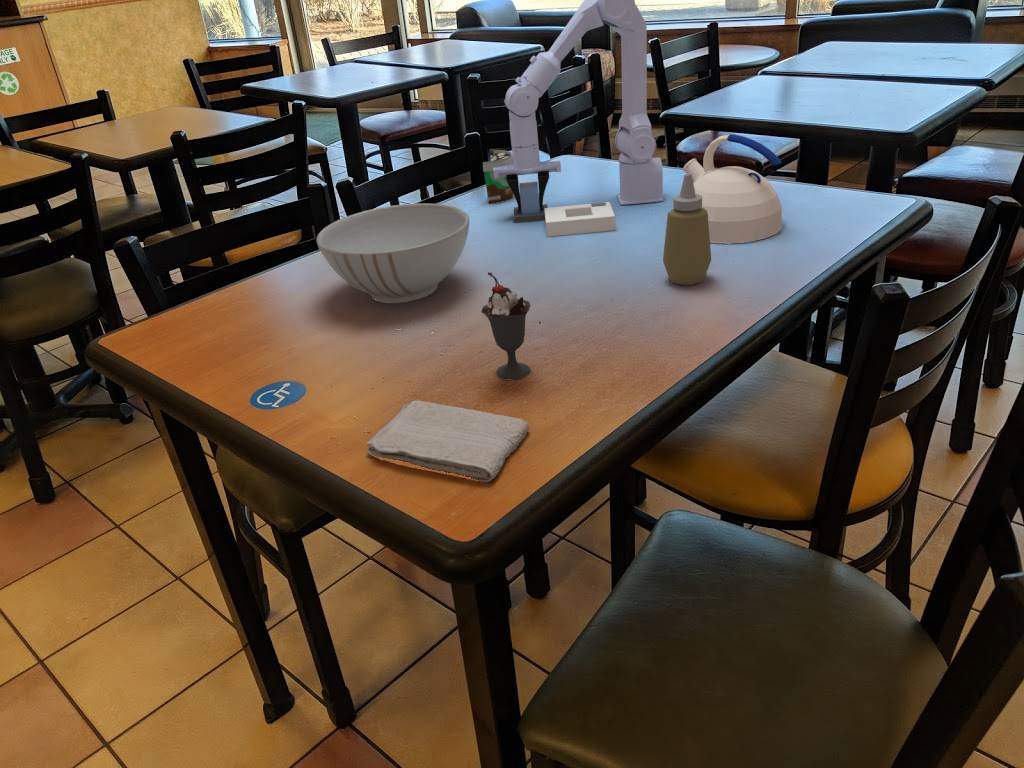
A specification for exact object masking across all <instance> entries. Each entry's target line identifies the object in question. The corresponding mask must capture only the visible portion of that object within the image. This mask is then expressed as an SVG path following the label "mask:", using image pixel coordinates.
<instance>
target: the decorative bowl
mask: <svg viewBox="0 0 1024 768" xmlns="http://www.w3.org/2000/svg"><path fill="white" fill-rule="evenodd" d="M469 228H470V217H469V214H467V212H466V211H464V210H463V209H461V208H459V207H456V206H452V205H447V204H439V203H405V204H397V205H396V204H395V205H389V206H383V207H377V208H373V209H372V208H371V209H368V210H363V211H361V212H357V213H354V214H353V213H352V214H350V215H347V216H345V217H342V218H339V219H338V220H335V221H334V222H332V223H330V224H328V225H327V226H325V227H324V228H323V229H322V230H321V231H320V232H319V233H318V234H317V236H316V244H317V247H318V249H319V250H320V252H321V254H322V256H323V258H324V259H325V260H326V263H327V264H328V265H329V267H331V268H332V270H333V271H334V272H335V273H336V274H337V275H338V276H339V277H340V278H341V279H342V280H343V281H345V282H346V283H347V284H349V285H350V286H352V287H354V288H355V289H357V290H359V291H360V292H363V293H366V294H368V295H370V296H372V297H373V298H374V299H376V300H378V301H377V302H379V301H382V302H381V303H383V302H389V303H388V304H401V303H400V302H405V303H409V302H408V301H410V302H414V301H413V300H415V301H417V300H416V299H418V300H421V299H423V297H424V298H426V297H428V296H430V295H432V294H433V293H434V292H435V291H436V290H437V289H438V287H439V285H438V284H439V283H440V282H442V281H443V280H444V279H445V278H446V277H447V276H448V275H449V274H450V273H451V271H453V269H454V267H455V266H456V265H457V263H458V261H459V260H460V258H461V255H462V253H463V251H464V248H465V246H466V242H467V240H468V239H467V238H468V234H469ZM429 294H430V295H429ZM425 296H426V297H425ZM372 297H371V298H372ZM373 298H372V299H373ZM420 298H421V299H420ZM374 299H373V300H374ZM376 300H375V301H376Z"/></svg>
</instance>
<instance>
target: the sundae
mask: <svg viewBox="0 0 1024 768" xmlns="http://www.w3.org/2000/svg"><path fill="white" fill-rule="evenodd" d="M487 275H488V276H490V277H491V278H492V279H493V280H494V281H495V286H493V287H492V288H491V292H492V294H491V295H490V296H489V297H488V300H487V304H486V305H484V306H483V307H482V308H481V313H482V314H483V315H484V316H485V317H487V319H488V321H489V323H490V327H491V331H492V335H493V339H494V341H495V343H496V345H497V347H499V348H500V349H501V350H502V351H505V352H506V353H507V354H506V355H507V363H505V364H502V365H501V366H499V367H498V368H497V370H496V371H495V374H497V375H496V376H497V377H498V378H499V377H500V378H499V379H501V378H503V379H502V380H504V379H517V380H520V379H519V378H521V377H523V378H525V377H527V376H529V374H530V373H531V372H532V371H531V367H530V366H529V365H528V364H526V363H524V362H518V361H517V357H516V351H517V350H518V349H520V347H522V345H523V344H524V342H525V336H526V318H527V314H528V312H529V311H530V308H531V303H530V301H528V300H524V297H523V296H521V297H518V294H517V293H516V292H515V291H514V290H513V289H511V288H509V287H504V285H501V284H499V281H498V279H497V277H496V276H495V275H493V272H487ZM526 375H527V376H526ZM524 376H525V377H524ZM521 379H522V378H521Z"/></svg>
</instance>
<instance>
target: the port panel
mask: <svg viewBox="0 0 1024 768" xmlns="http://www.w3.org/2000/svg"><path fill="white" fill-rule="evenodd" d="M544 210H545V220H544V221H545V230H546V237H559V236H569V235H579V234H590V233H602V232H612V231H613V230H614V231H616V215H615V212H614V210H613V208H612V205H611V202H610V201H606V202H595V203H586V204H584V203H583V204H574V205H565V206H554V207H548V208H544Z"/></svg>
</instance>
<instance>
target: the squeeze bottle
mask: <svg viewBox="0 0 1024 768" xmlns="http://www.w3.org/2000/svg"><path fill="white" fill-rule="evenodd" d="M672 199H673V201H672V202H673V205H672V206H673V207H672V209H670V211H668V212H667V214H666V215H667V216H666V227H665V236H664V237H665V238H664V245H663V247H664V248H663V256H662V260H663V265H664V268H665V270H666V274H667V275H668V280H669V281H670V282H671V283H673V284H676V285H680V286H681V285H683V286H689V285H690V286H692V285H696V284H699V283H702V282H703V281H704V280H705V278H706V275H707V273H708V271H709V268H710V265H711V262H712V253H711V243H710V236H709V223H708V213H707V210H705V209H704V208H702V196H701V195H699V194H695V189H694V183H693V179H692V175H691V174H686V173H685V174H684V176H683V180H682V184H681V187H680V193H679V194H677V195H675V196H674V197H673V198H672Z"/></svg>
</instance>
